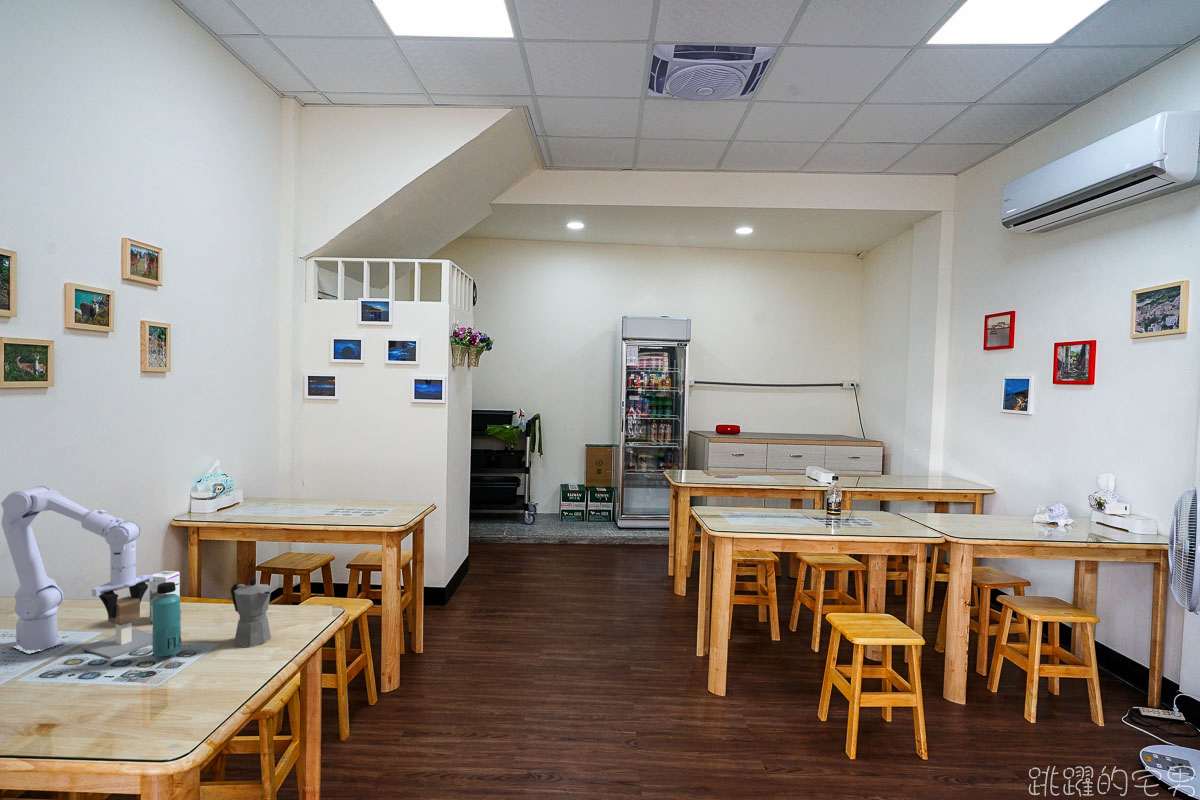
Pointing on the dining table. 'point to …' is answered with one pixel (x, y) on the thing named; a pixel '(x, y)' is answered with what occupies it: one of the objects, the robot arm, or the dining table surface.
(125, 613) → the brown shipping carton
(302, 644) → the dining table surface
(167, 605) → the beverage bottle
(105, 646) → the flat grey base plate
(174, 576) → the syrup box
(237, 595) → the coffeepot
